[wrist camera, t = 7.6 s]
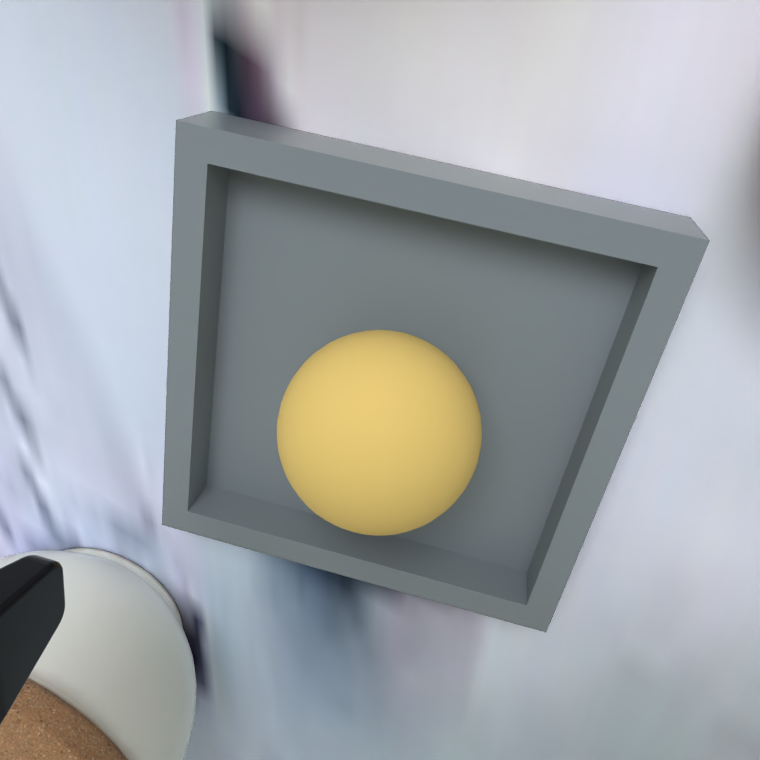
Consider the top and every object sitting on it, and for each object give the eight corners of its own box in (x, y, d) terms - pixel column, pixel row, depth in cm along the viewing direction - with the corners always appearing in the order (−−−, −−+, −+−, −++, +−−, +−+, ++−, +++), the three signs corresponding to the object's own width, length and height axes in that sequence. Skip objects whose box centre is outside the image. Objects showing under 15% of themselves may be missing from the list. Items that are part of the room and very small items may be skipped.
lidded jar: (95, 727, 31) (-67, 984, 22) (-72, 544, 27) (-333, 767, 19) (293, 677, 27) (186, 968, 18) (126, 455, 23) (-96, 689, 15)
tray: (691, 218, 16) (709, 240, 15) (544, 584, 22) (545, 632, 20) (211, 110, 18) (176, 120, 16) (189, 487, 23) (162, 524, 21)
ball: (506, 324, 18) (504, 422, 14) (461, 478, 20) (447, 604, 16) (319, 281, 18) (258, 362, 14) (297, 437, 21) (239, 549, 16)
